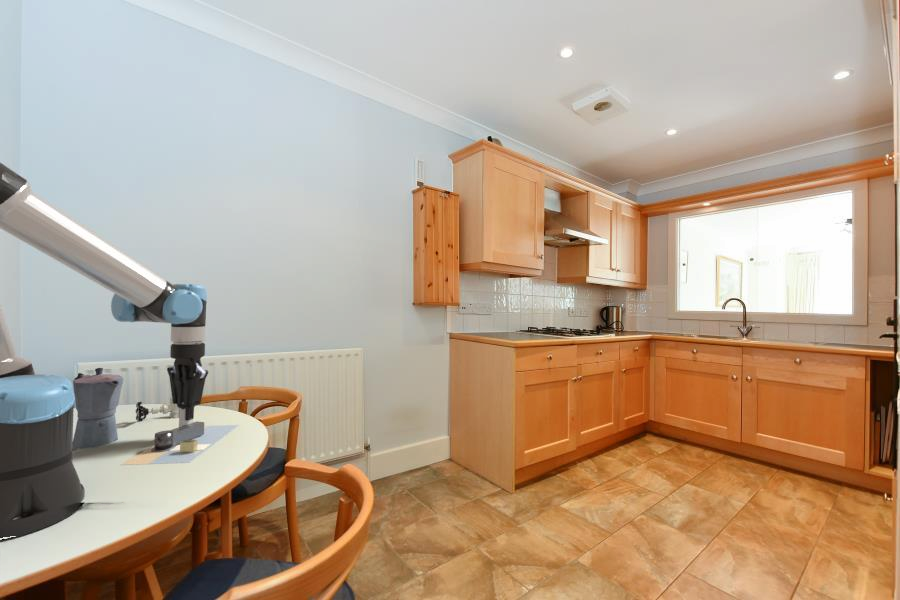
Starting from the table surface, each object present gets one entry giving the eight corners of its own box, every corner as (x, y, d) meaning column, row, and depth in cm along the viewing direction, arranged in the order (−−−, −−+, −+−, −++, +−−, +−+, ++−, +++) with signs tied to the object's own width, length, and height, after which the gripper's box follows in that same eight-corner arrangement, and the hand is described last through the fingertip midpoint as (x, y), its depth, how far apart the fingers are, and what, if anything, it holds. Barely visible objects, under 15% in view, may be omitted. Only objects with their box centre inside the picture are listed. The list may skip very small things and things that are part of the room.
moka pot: (96, 457, 90) (98, 372, 90) (46, 451, 93) (48, 369, 93) (137, 442, 99) (138, 366, 99) (90, 437, 102) (92, 363, 102)
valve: (182, 413, 125) (135, 421, 116) (182, 393, 125) (135, 400, 116) (187, 418, 120) (138, 426, 111) (187, 397, 120) (139, 404, 112)
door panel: (189, 467, 85) (189, 461, 85) (120, 470, 83) (120, 463, 83) (239, 429, 110) (239, 424, 110) (187, 430, 109) (187, 425, 109)
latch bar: (162, 450, 90) (162, 436, 90) (150, 449, 91) (150, 434, 91) (205, 434, 102) (206, 421, 102) (195, 433, 102) (195, 420, 102)
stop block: (193, 452, 90) (193, 442, 90) (179, 453, 90) (180, 442, 90) (197, 450, 92) (197, 439, 92) (183, 450, 91) (184, 440, 91)
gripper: (218, 342, 101) (216, 431, 101) (186, 339, 106) (183, 424, 106) (190, 345, 94) (187, 440, 94) (157, 342, 99) (154, 432, 99)
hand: (185, 431), depth 100 cm, fingers closed
